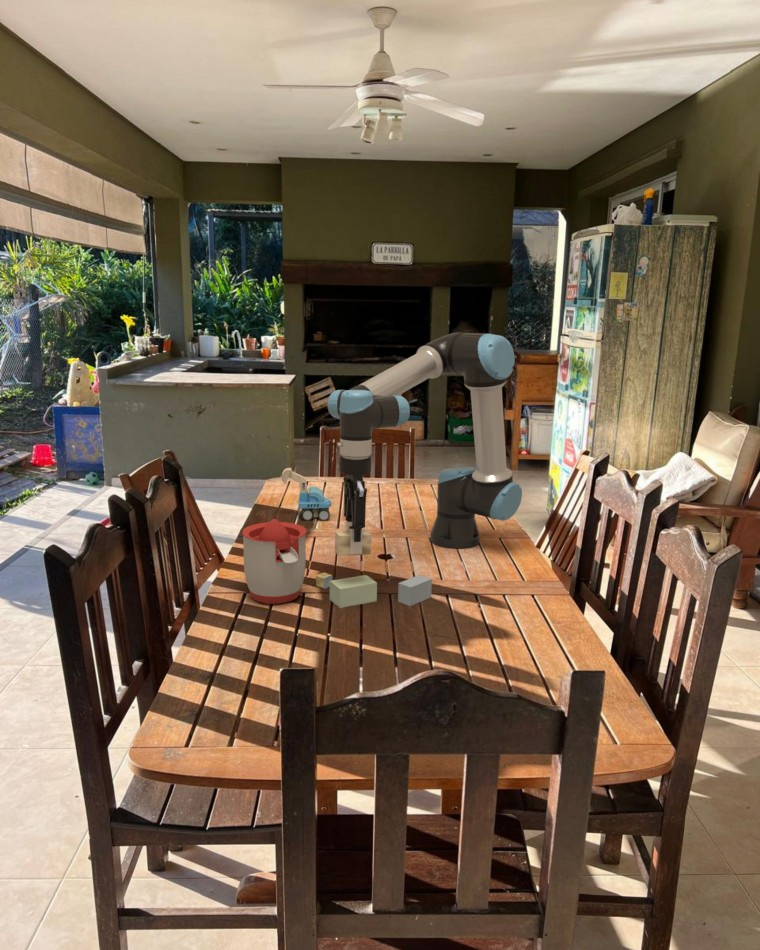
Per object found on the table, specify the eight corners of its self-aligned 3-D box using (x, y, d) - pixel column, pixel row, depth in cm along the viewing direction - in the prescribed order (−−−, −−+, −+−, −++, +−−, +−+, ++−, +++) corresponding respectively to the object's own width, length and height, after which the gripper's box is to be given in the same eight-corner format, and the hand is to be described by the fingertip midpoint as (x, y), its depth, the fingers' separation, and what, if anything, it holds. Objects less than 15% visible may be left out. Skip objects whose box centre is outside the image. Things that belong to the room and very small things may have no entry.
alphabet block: (324, 589, 193) (324, 577, 193) (315, 586, 195) (315, 574, 195) (332, 586, 195) (332, 574, 195) (324, 583, 198) (324, 571, 197)
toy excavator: (282, 514, 260) (282, 465, 256) (331, 514, 261) (331, 465, 257) (281, 521, 251) (280, 471, 248) (331, 521, 253) (331, 471, 249)
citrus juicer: (261, 616, 176) (260, 533, 171) (233, 591, 190) (231, 515, 186) (321, 603, 184) (321, 524, 180) (290, 580, 198) (289, 507, 194)
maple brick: (366, 549, 187) (367, 529, 186) (370, 554, 183) (371, 534, 182) (334, 550, 184) (335, 531, 183) (338, 556, 181) (338, 536, 180)
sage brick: (365, 593, 191) (366, 574, 190) (376, 601, 186) (377, 582, 185) (329, 599, 187) (329, 580, 186) (339, 608, 182) (340, 589, 180)
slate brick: (418, 593, 192) (419, 574, 191) (431, 597, 189) (431, 579, 188) (398, 602, 186) (398, 583, 185) (410, 606, 183) (410, 587, 182)
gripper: (332, 449, 185) (331, 541, 191) (348, 464, 169) (346, 563, 175) (361, 449, 187) (360, 539, 193) (380, 463, 171) (377, 561, 177)
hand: (353, 550), depth 184 cm, fingers closed on maple brick, 4 cm apart
